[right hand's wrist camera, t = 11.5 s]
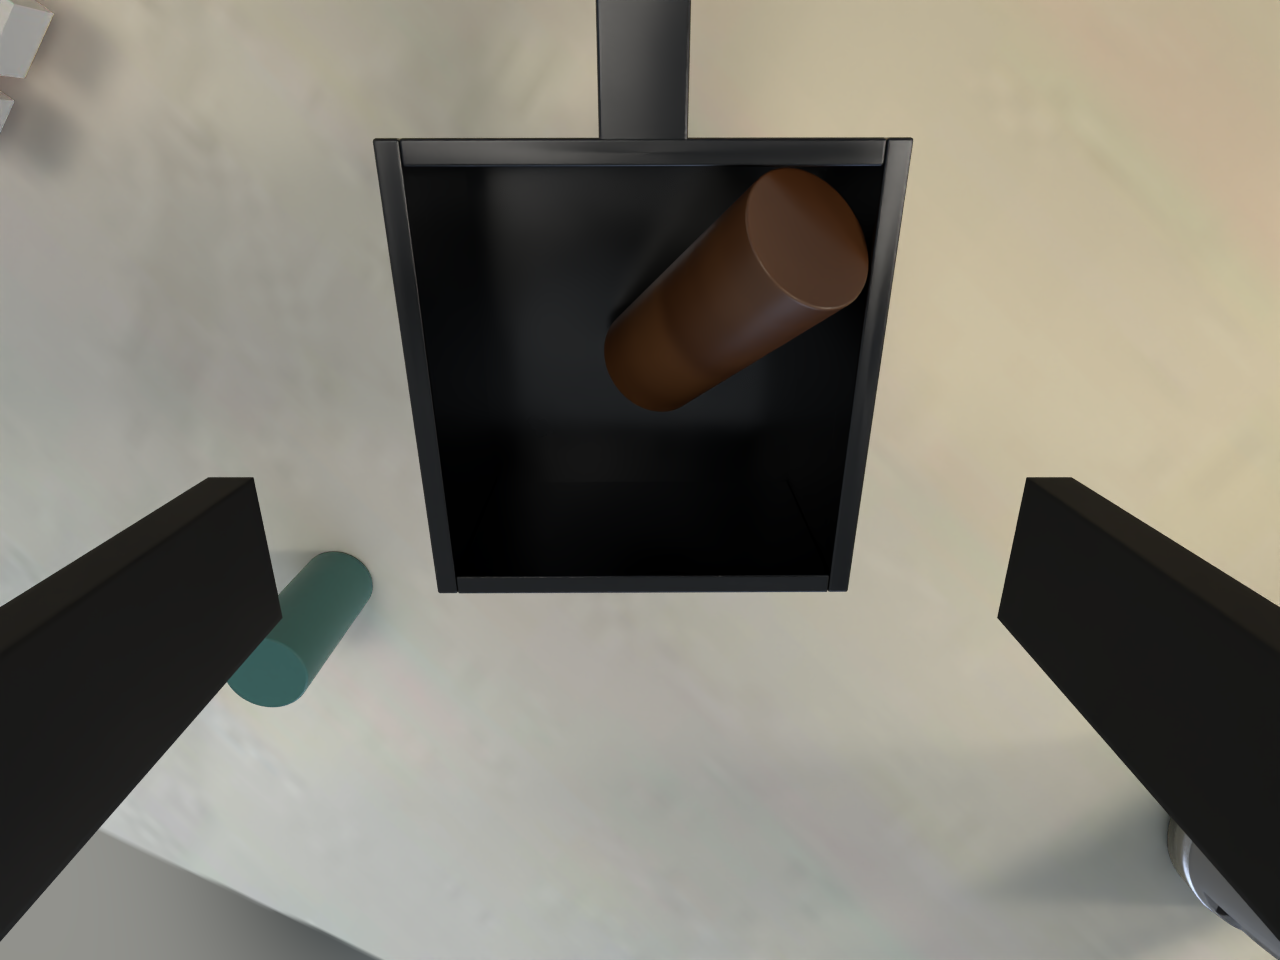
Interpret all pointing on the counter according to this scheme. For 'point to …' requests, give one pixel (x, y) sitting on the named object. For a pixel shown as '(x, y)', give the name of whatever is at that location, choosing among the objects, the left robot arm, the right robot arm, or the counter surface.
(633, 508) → the black box with handle
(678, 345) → the walnut peg
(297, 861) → the counter surface
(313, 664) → the teal peg
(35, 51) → the toy
